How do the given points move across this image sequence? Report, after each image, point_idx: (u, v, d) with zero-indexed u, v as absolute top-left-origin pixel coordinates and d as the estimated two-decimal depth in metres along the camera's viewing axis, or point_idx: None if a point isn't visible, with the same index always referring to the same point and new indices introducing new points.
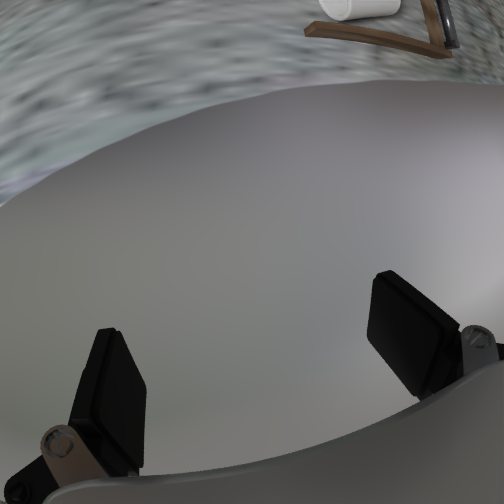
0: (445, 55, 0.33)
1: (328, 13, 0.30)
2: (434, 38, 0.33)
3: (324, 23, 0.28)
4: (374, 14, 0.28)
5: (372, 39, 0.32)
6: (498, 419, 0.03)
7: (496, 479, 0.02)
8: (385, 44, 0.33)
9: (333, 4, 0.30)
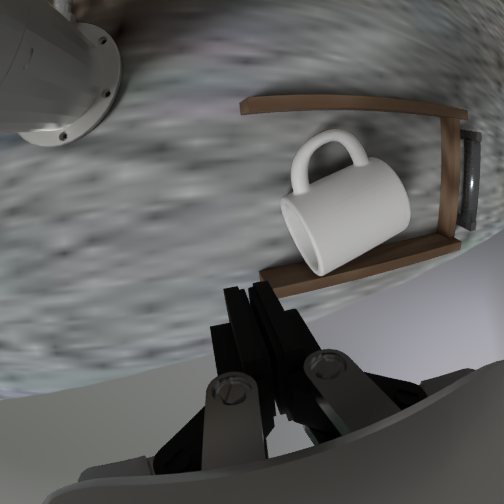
0: None
1: (295, 242, 0.30)
2: (445, 217, 0.33)
3: (282, 289, 0.28)
4: None
5: None
6: (498, 419, 0.03)
7: (496, 479, 0.02)
8: None
9: None
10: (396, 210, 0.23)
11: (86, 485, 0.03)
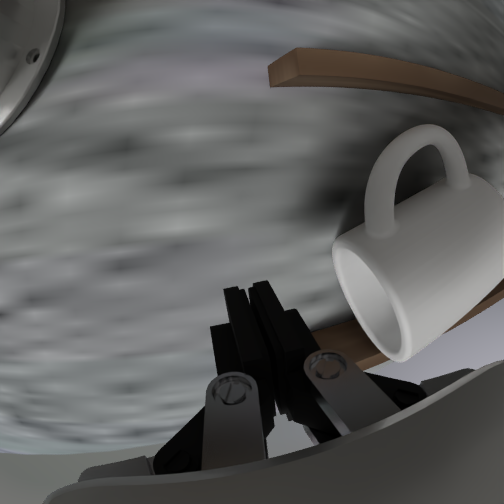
0: None
1: (348, 299, 0.19)
2: None
3: None
4: None
5: None
6: (498, 419, 0.03)
7: (496, 479, 0.02)
8: None
9: (365, 266, 0.18)
10: None
11: (86, 485, 0.03)
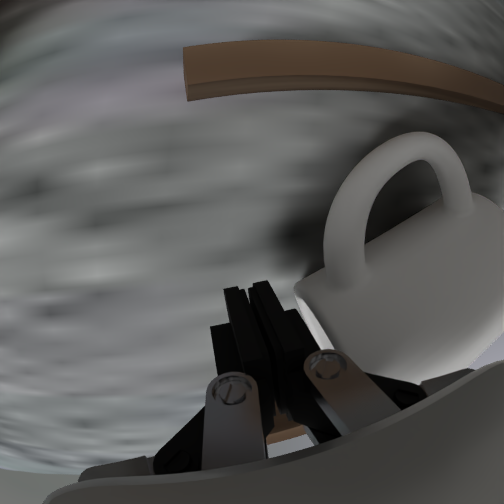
0: None
1: None
2: None
3: (280, 434, 0.14)
4: None
5: None
6: (498, 419, 0.03)
7: (496, 479, 0.02)
8: None
9: None
10: None
11: (86, 485, 0.03)
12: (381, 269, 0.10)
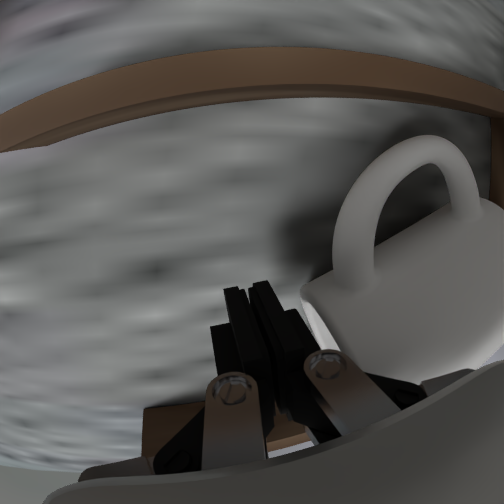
0: None
1: None
2: None
3: None
4: None
5: None
6: (498, 419, 0.03)
7: (496, 479, 0.02)
8: None
9: None
10: None
11: (86, 485, 0.03)
12: (390, 273, 0.10)
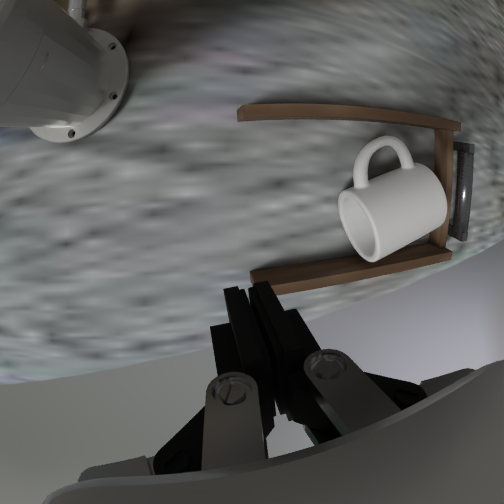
0: None
1: (347, 234, 0.32)
2: None
3: None
4: None
5: None
6: (498, 419, 0.03)
7: (496, 479, 0.02)
8: None
9: (357, 215, 0.32)
10: (437, 207, 0.25)
11: (86, 485, 0.03)
12: (374, 182, 0.27)
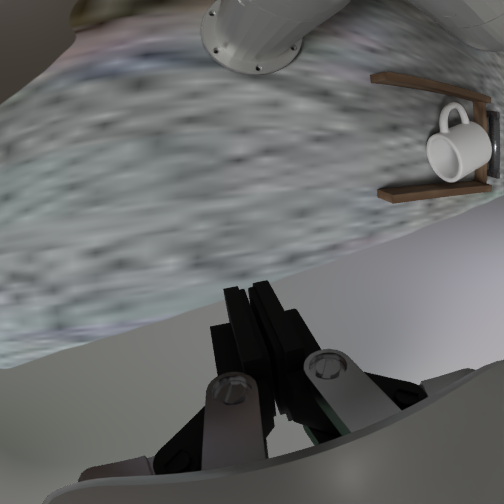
0: None
1: (432, 166, 0.40)
2: (479, 169, 0.42)
3: (400, 196, 0.37)
4: None
5: None
6: (498, 419, 0.03)
7: (496, 479, 0.02)
8: None
9: (437, 154, 0.39)
10: (487, 148, 0.33)
11: (86, 485, 0.03)
12: (451, 130, 0.34)
